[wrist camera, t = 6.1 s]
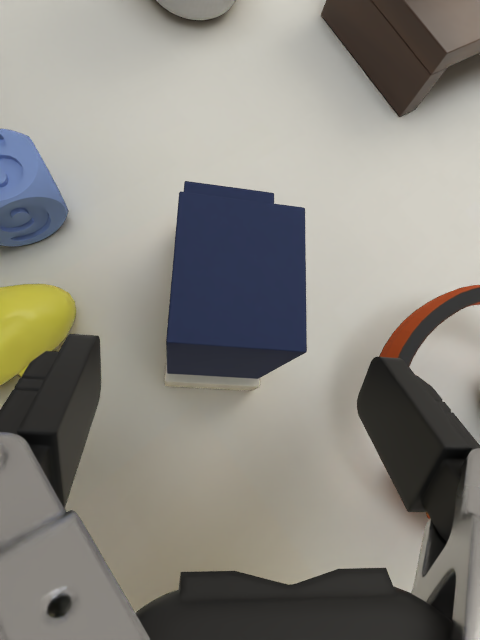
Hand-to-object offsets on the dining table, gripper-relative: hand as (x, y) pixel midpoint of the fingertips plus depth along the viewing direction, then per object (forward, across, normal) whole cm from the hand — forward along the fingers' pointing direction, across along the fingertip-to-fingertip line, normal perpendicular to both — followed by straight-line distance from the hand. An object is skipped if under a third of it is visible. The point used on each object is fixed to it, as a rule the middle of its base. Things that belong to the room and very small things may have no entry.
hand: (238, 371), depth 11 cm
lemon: (+8, +10, +6) cm, 14 cm away
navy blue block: (+10, 0, +3) cm, 11 cm away
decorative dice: (+13, +11, 0) cm, 17 cm away
